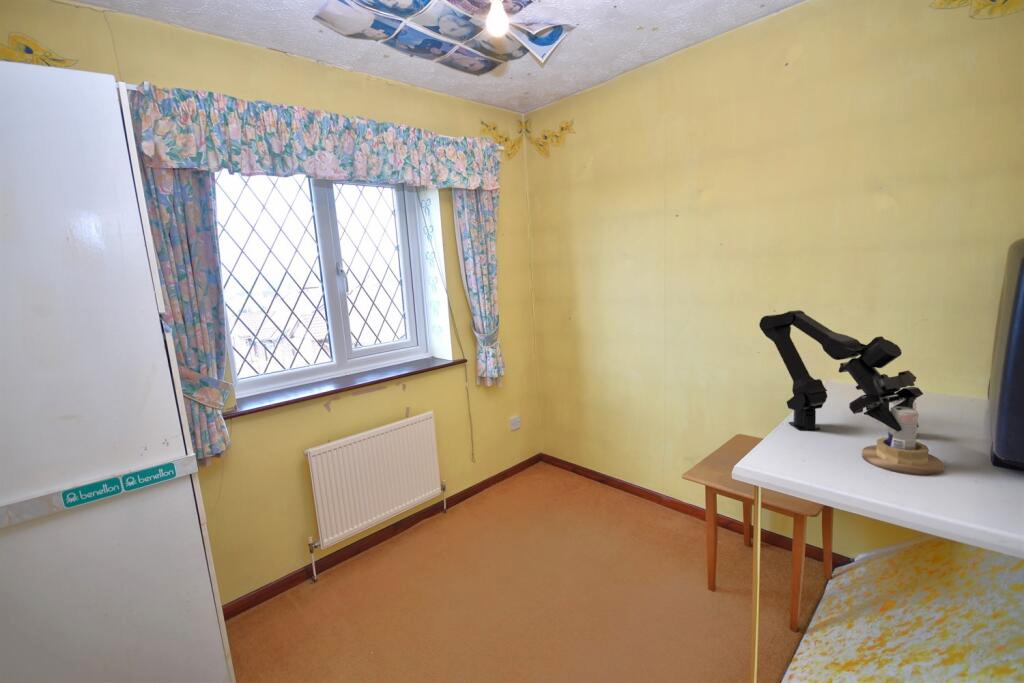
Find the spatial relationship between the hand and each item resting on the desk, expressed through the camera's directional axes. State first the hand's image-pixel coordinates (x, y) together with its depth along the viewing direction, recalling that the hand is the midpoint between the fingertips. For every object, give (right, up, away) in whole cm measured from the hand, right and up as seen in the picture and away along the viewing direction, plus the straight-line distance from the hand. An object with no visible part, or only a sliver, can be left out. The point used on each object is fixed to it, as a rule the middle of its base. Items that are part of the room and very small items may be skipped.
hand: (908, 429), depth 112 cm
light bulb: (+14, -6, +18) cm, 24 cm away
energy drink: (0, -7, +3) cm, 7 cm away
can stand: (0, -9, +3) cm, 9 cm away
